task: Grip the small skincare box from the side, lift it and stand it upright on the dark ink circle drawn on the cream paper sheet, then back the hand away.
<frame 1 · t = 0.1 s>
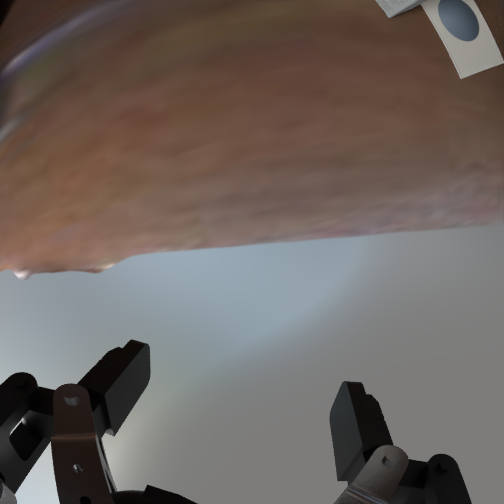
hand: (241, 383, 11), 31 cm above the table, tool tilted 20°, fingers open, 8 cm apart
paper sheet: (454, 12, 19), on the table
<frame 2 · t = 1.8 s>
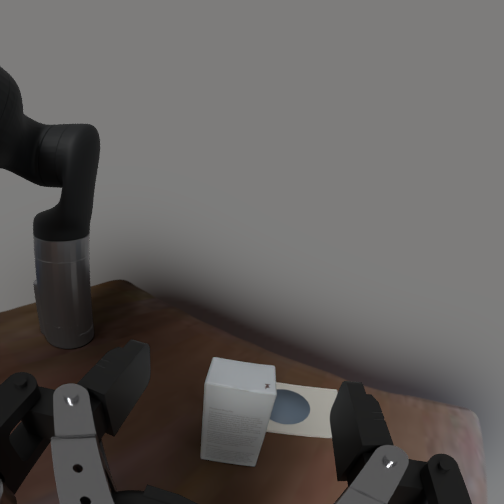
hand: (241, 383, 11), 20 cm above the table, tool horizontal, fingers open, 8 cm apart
paper sheet: (277, 406, 35), on the table
skincare box: (228, 451, 26), on the table
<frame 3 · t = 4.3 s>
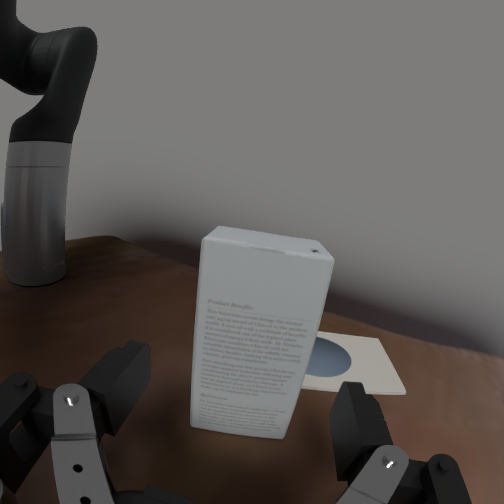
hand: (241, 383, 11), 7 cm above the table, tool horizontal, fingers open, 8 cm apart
paper sheet: (304, 356, 26), on the table
skincare box: (237, 416, 17), on the table
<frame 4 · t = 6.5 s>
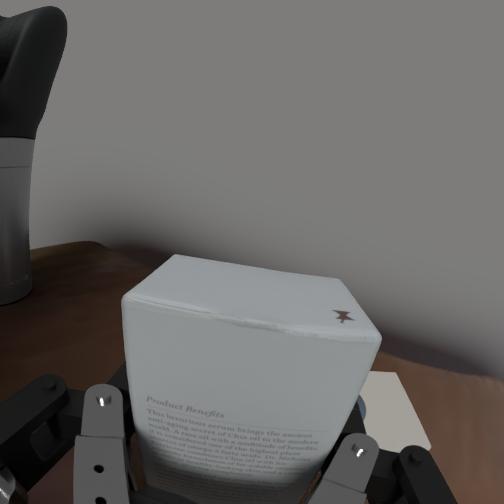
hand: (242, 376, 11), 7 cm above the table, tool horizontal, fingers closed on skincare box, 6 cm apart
paper sheet: (308, 404, 19), on the table
skincare box: (218, 497, 11), on the table, touching gripper
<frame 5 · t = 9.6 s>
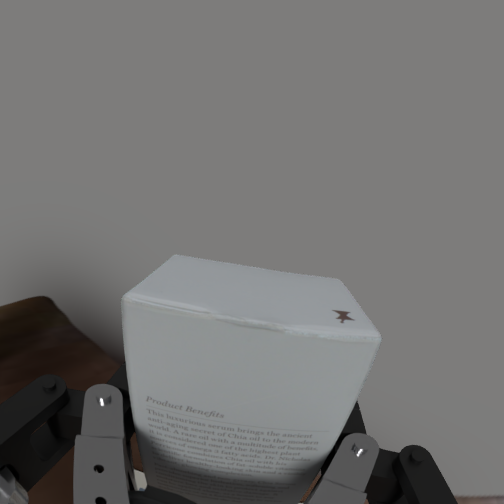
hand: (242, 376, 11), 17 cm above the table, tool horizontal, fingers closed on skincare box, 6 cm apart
skincare box: (218, 497, 11), point 10 cm above the table, touching gripper
when the fingers open (8 cm above the table, at t = 12.5 s): skincare box drops 1 cm, resting on paper sheet.
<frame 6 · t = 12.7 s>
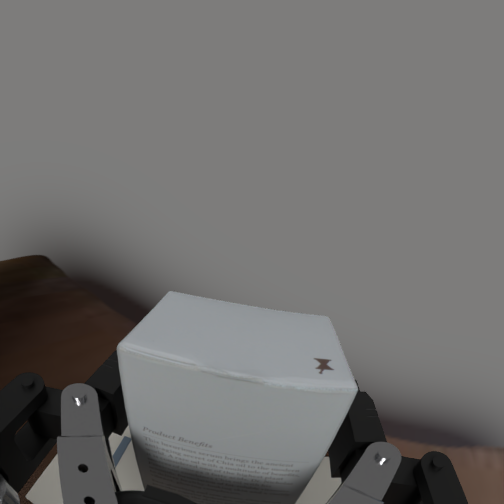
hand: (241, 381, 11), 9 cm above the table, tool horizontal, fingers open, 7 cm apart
paper sheet: (199, 503, 11), on the table
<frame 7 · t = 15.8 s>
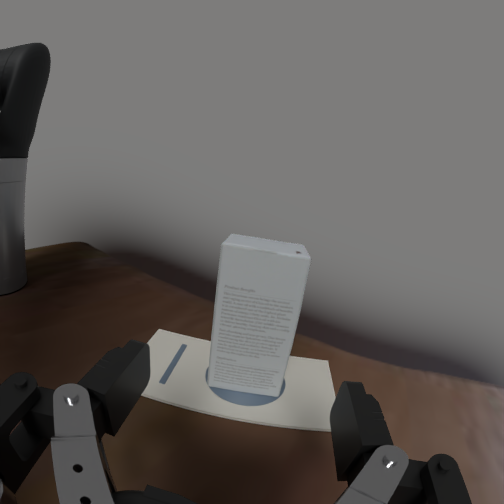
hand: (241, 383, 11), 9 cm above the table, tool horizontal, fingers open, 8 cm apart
paper sheet: (233, 379, 24), on the table
skincare box: (243, 380, 23), resting on paper sheet
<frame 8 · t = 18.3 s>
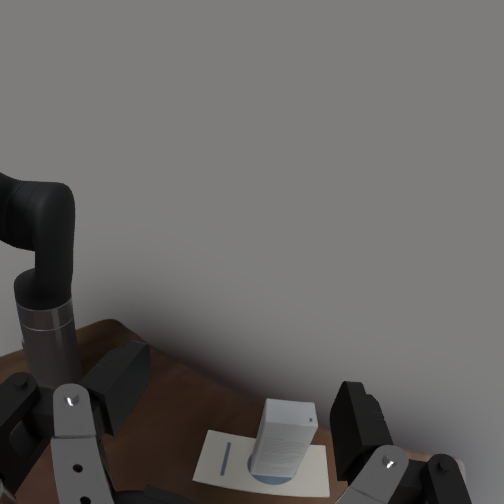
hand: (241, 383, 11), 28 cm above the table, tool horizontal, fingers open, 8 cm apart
paper sheet: (264, 466, 32), on the table
skincare box: (271, 466, 32), resting on paper sheet
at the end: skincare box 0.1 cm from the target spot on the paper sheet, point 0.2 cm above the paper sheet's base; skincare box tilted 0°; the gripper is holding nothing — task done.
